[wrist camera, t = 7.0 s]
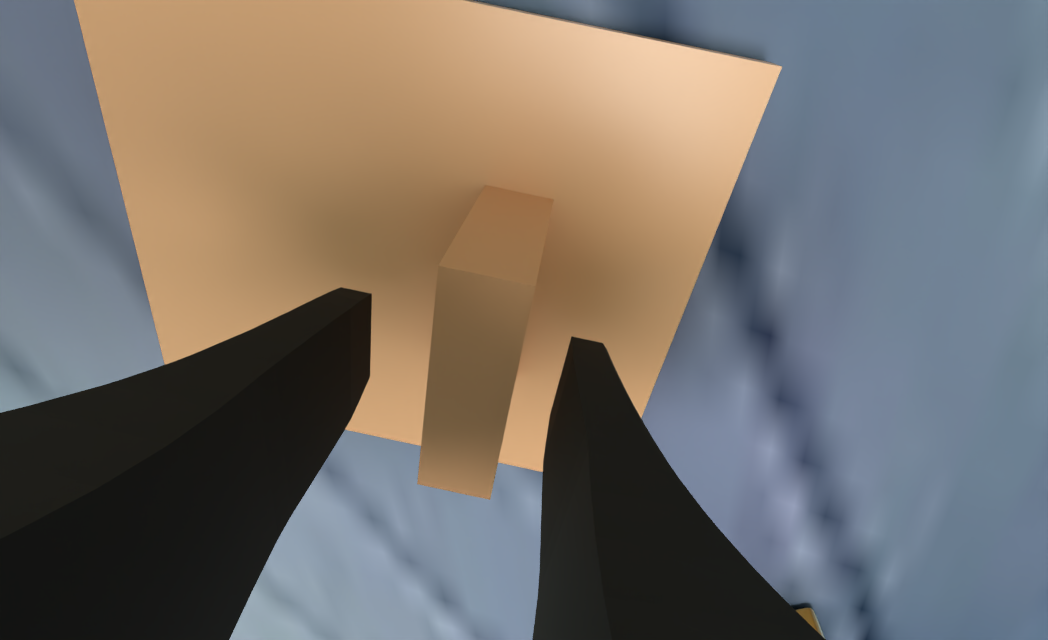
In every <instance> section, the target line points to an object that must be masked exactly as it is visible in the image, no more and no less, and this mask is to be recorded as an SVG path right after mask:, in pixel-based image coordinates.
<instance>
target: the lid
mask: <svg viewBox="0 0 1048 640" xmlns="http://www.w3.org/2000/svg"><path fill="white" fill-rule="evenodd" d="M74 2H75V6H76V10H77V14H78V18H79V22H80V26H81V30H82V34H83V38H84V42H85V46H86V50H87V54H88V58H89V62H90V66H91V71H92V75H93V79H94V83H95V87H96V91H97V95H98V99H99V103H100V107H101V111H102V115H103V119H104V123H105V127H106V131H107V135H108V139H109V143H110V147H111V151H112V155H113V159H114V163H115V167H116V171H117V175H118V179H119V183H120V187H121V191H122V195H123V199H124V203H125V207H126V211H127V215H128V219H129V223H130V227H131V231H132V235H133V239H134V243H135V247H136V251H137V255H138V259H139V263H140V267H141V271H142V275H143V279H144V283H145V287H146V291H147V295H148V299H149V303H150V307H151V311H152V315H153V319H154V323H155V327H156V331H157V335H158V339H159V343H160V347H161V351H162V355H163V359H164V363H165V365H166V364H169V363H171V362H174V361H177V360H179V359H182V358H185V357H187V356H190V355H192V354H195V353H197V352H199V351H202V350H204V349H207V348H209V347H211V346H214V345H216V344H218V343H221V342H223V341H225V340H228V339H230V338H232V337H235V336H237V335H239V334H242V333H244V332H246V331H249V330H251V329H253V328H255V327H257V326H259V325H261V324H264V323H266V322H268V321H270V320H272V319H274V318H276V317H278V316H280V315H282V314H285V313H287V312H289V311H291V310H293V309H295V308H297V307H299V306H301V305H303V304H305V303H307V302H309V301H311V300H313V299H315V298H318V297H320V296H322V295H324V294H326V293H328V292H330V291H333V290H335V289H338V288H340V287H343V288H347V289H352V290H357V291H361V292H366V293H371V294H372V310H371V358H370V378H369V380H368V383H367V385H366V387H365V389H364V392H363V394H362V396H361V399H360V401H359V403H358V405H357V407H356V410H355V412H354V414H353V416H352V418H351V420H350V422H349V423H348V425H347V427H346V428H345V430H349V431H354V432H359V433H364V434H368V435H373V436H378V437H382V438H387V439H392V440H396V441H401V442H406V443H410V444H415V445H420V446H421V452H420V462H419V473H418V483H417V484H420V485H424V486H429V487H434V488H438V489H443V490H448V491H452V492H457V493H462V494H466V495H471V496H475V497H480V498H485V499H489V500H490V497H491V492H492V488H493V483H494V478H495V474H496V469H497V464H498V462H499V463H504V464H508V465H513V466H518V467H522V468H527V469H532V470H536V471H541V472H543V459H544V452H545V445H546V438H547V431H548V425H549V418H550V413H551V409H552V406H553V402H554V398H555V395H556V391H557V387H558V384H559V380H560V376H561V373H562V369H563V366H564V362H565V358H566V355H567V351H568V347H569V344H570V340H571V336H573V337H577V338H582V339H587V340H591V341H596V342H601V343H603V344H604V346H605V347H606V349H607V351H608V353H609V355H610V358H611V360H612V362H613V364H614V367H615V369H616V371H617V373H618V375H619V377H620V379H621V381H622V383H623V385H624V387H625V389H626V391H627V393H628V395H629V397H630V399H631V401H632V403H633V405H634V406H635V408H636V410H637V412H638V414H639V415H640V417H642V415H643V412H644V410H645V407H646V405H647V402H648V400H649V397H650V395H651V392H652V390H653V387H654V385H655V382H656V380H657V377H658V375H659V372H660V370H661V367H662V365H663V362H664V360H665V357H666V355H667V352H668V350H669V347H670V345H671V342H672V340H673V337H674V335H675V332H676V330H677V327H678V325H679V322H680V320H681V317H682V315H683V312H684V310H685V307H686V305H687V302H688V300H689V297H690V295H691V292H692V290H693V288H694V285H695V283H696V280H697V278H698V275H699V273H700V270H701V268H702V265H703V263H704V260H705V258H706V255H707V253H708V250H709V248H710V245H711V243H712V240H713V238H714V235H715V233H716V230H717V228H718V225H719V223H720V220H721V218H722V215H723V213H724V210H725V208H726V205H727V203H728V200H729V198H730V195H731V193H732V190H733V188H734V185H735V183H736V180H737V178H738V175H739V173H740V170H741V168H742V165H743V163H744V160H745V158H746V155H747V153H748V150H749V148H750V145H751V143H752V140H753V138H754V135H755V133H756V130H757V128H758V125H759V123H760V120H761V118H762V115H763V113H764V111H765V108H766V106H767V103H768V101H769V98H770V96H771V93H772V91H773V88H774V86H775V83H776V81H777V78H778V76H779V73H780V71H781V68H782V67H781V66H779V65H776V64H773V63H771V62H767V61H762V60H757V59H752V58H747V57H743V56H738V55H733V54H728V53H723V52H719V51H714V50H709V49H704V48H699V47H695V46H690V45H685V44H680V43H675V42H671V41H666V40H661V39H656V38H651V37H647V36H642V35H637V34H632V33H627V32H623V31H618V30H613V29H608V28H603V27H599V26H594V25H589V24H584V23H579V22H575V21H570V20H565V19H560V18H555V17H551V16H546V15H541V14H536V13H531V12H527V11H522V10H517V9H512V8H507V7H503V6H498V5H493V4H488V3H483V2H479V1H474V0H74Z"/></svg>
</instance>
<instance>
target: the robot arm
mask: <svg viewBox="0 0 1048 640" xmlns="http://www.w3.org/2000/svg"><path fill="white" fill-rule="evenodd" d="M371 310H372V294H371V293H366V292H361V291H357V290H352V289H347V288H343V287H340V288H338V289H335V290H333V291H330V292H328V293H326V294H324V295H322V296H320V297H318V298H315V299H313V300H311V301H309V302H307V303H305V304H303V305H301V306H299V307H297V308H295V309H293V310H291V311H289V312H287V313H285V314H282V315H280V316H278V317H276V318H274V319H272V320H270V321H268V322H266V323H264V324H261V325H259V326H257V327H255V328H253V329H251V330H249V331H246V332H244V333H242V334H239V335H237V336H235V337H232V338H230V339H228V340H225V341H223V342H221V343H218V344H216V345H214V346H211V347H209V348H207V349H204V350H202V351H199V352H197V353H195V354H192V355H190V356H187V357H185V358H182V359H179V360H177V361H174V362H171V363H169V364H166V365H163V366H160V367H158V368H155V369H152V370H149V371H146V372H143V373H140V374H137V375H134V376H131V377H128V378H125V379H122V380H119V381H116V382H112V383H109V384H106V385H103V386H99V387H95V388H92V389H88V390H85V391H81V392H77V393H74V394H70V395H67V396H63V397H59V398H56V399H52V400H49V401H45V402H41V403H38V404H34V405H30V406H27V407H23V408H19V409H15V410H10V411H6V412H2V413H0V640H229V639H230V637H231V634H232V632H233V630H234V628H235V626H236V624H237V622H238V620H239V618H240V615H241V613H242V611H243V609H244V607H245V605H246V603H247V601H248V598H249V596H250V594H251V592H252V590H253V588H254V586H255V584H256V582H257V580H258V578H259V576H260V574H261V572H262V570H263V568H264V566H265V564H266V562H267V560H268V558H269V556H270V554H271V552H272V550H273V548H274V546H275V544H276V542H277V540H278V538H279V536H280V534H281V532H282V531H283V529H284V527H285V525H286V524H287V522H288V520H289V518H290V517H291V515H292V513H293V512H294V510H295V509H296V507H297V505H298V504H299V502H300V501H301V499H302V497H303V496H304V494H305V493H306V491H307V489H308V488H309V486H310V485H311V483H312V481H313V480H314V478H315V477H316V475H317V473H318V472H319V470H320V469H321V467H322V465H323V464H324V462H325V461H326V459H327V458H328V456H329V454H330V453H331V451H332V449H333V448H334V446H335V445H336V443H337V441H338V440H339V438H340V437H341V435H342V433H343V432H344V430H345V428H346V427H347V425H348V423H349V422H350V420H351V418H352V416H353V414H354V412H355V410H356V407H357V405H358V403H359V401H360V399H361V396H362V394H363V392H364V389H365V387H366V385H367V383H368V380H369V378H370V358H371ZM533 640H826V639H824V638H823V637H822V636H821V635H820V634H819V633H818V632H817V631H816V630H815V629H814V628H813V627H812V626H811V625H810V624H809V623H808V622H807V621H806V620H805V619H804V618H803V617H802V616H801V615H800V614H799V613H798V612H797V611H796V610H795V609H793V608H792V607H791V606H790V605H789V604H788V603H787V602H786V601H785V600H784V599H783V598H782V597H781V596H780V595H779V594H778V593H777V592H776V591H775V590H774V589H773V588H772V587H771V586H770V585H769V583H768V582H767V581H766V580H765V579H764V578H763V577H762V576H761V575H760V574H759V573H758V572H757V571H756V570H755V569H754V568H753V567H752V566H751V565H750V564H749V562H748V561H747V560H746V559H745V558H744V557H743V556H742V555H741V553H740V552H739V551H738V550H737V549H736V548H735V547H734V546H733V544H732V543H731V542H730V541H729V540H728V539H727V538H726V537H725V535H724V534H723V533H722V532H721V531H720V530H719V529H718V527H717V526H716V525H715V524H714V523H713V521H712V520H711V519H710V518H709V517H708V515H707V514H706V513H705V512H704V511H703V509H702V508H701V507H700V505H699V504H698V503H697V501H696V500H695V499H694V498H693V496H692V495H691V494H690V492H689V491H688V490H687V488H686V487H685V486H684V484H683V483H682V482H681V481H680V479H679V478H678V476H677V475H676V474H675V472H674V471H673V469H672V468H671V466H670V465H669V463H668V462H667V460H666V459H665V457H664V455H663V454H662V452H661V451H660V449H659V448H658V446H657V444H656V443H655V441H654V440H653V438H652V436H651V435H650V433H649V431H648V430H647V428H646V426H645V425H644V423H643V421H642V419H641V417H640V415H639V414H638V412H637V410H636V408H635V406H634V405H633V403H632V401H631V399H630V397H629V395H628V393H627V391H626V389H625V387H624V385H623V383H622V381H621V379H620V377H619V375H618V373H617V371H616V369H615V367H614V364H613V362H612V360H611V358H610V355H609V353H608V351H607V349H606V347H605V346H604V344H603V343H601V342H596V341H591V340H587V339H582V338H577V337H573V336H571V340H570V344H569V347H568V351H567V355H566V358H565V362H564V366H563V369H562V373H561V376H560V380H559V384H558V387H557V391H556V395H555V398H554V402H553V406H552V409H551V413H550V418H549V425H548V431H547V438H546V445H545V452H544V459H543V483H542V515H541V549H540V575H539V589H538V600H537V608H536V616H535V625H534V633H533Z"/></svg>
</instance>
